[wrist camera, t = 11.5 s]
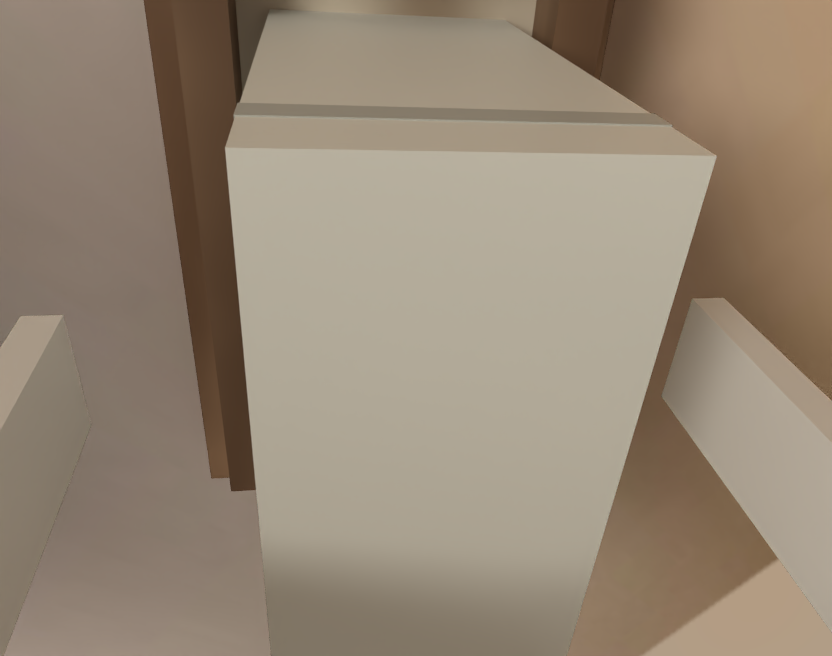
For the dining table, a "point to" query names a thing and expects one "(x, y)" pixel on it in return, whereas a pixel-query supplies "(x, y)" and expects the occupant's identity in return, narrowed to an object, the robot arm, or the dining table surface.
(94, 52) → the dining table surface
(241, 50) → the tray
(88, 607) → the dining table surface
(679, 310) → the dining table surface
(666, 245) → the white lidded box
